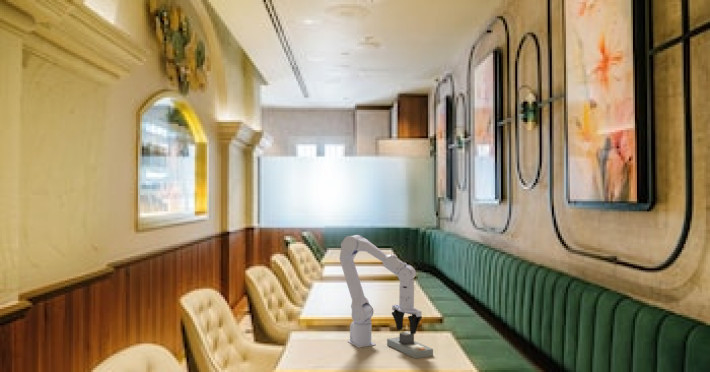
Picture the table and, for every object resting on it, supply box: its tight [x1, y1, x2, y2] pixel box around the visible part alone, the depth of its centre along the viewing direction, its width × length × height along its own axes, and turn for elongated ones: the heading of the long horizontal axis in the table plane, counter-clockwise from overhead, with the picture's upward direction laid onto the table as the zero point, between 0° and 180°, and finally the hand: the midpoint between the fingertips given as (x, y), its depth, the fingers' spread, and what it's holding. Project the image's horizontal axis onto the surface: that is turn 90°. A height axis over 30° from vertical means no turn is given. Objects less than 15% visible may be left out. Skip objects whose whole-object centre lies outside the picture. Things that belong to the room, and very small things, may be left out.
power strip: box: [386, 336, 434, 360], centre depth 206 cm, size 20×8×3 cm, turn 28°
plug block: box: [399, 330, 415, 345], centre depth 208 cm, size 4×4×6 cm
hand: (406, 331), depth 208 cm, fingers open, 7 cm apart
